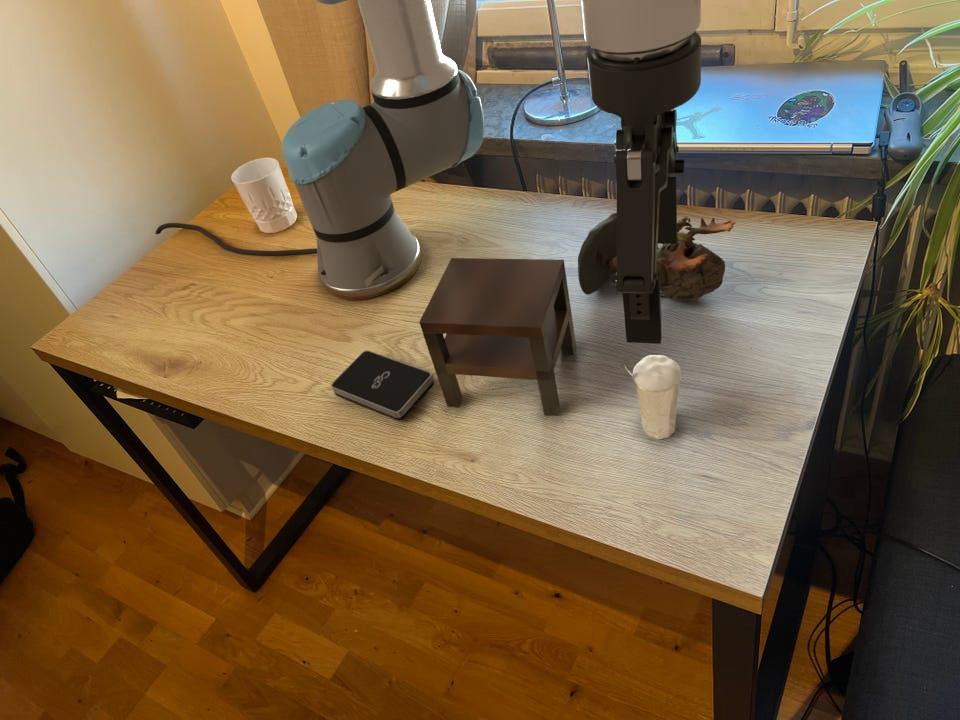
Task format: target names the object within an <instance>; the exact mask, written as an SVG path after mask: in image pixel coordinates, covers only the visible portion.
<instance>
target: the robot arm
mask: <svg viewBox="0 0 960 720" xmlns="http://www.w3.org/2000/svg"><path fill="white" fill-rule="evenodd" d="M315 1H317V2H318V3H321V4H322V5H336V4H340V3H344V2H346V1H348V0H315ZM356 1H357V4H358V8H359V11H360V15H361V18H362V22H363V25H364V30H365V33H366V37H367V38H368V43H369V46H370V50H371V53H372V57H373V61H374V64H375V67H376V72H375V73H374V75H373V77H372V79H371V81H370V83H369V87H370V92H371V95H372V100H373V102H372V103H371V104H368V105H365V106H363V107H362V105H361V104H360V103H359V102H357V101H355V100H352V99H339V100H337V101H336V102H333V101H330V102H327V103H324V104H322V105H320V106H317V107H315V108H313V109H311V110H309V111H308V112H306V113H304V114H302V115H301V116H300V117H299V118H298V119H297V120H296V121H294V122H293V123H292V125H290V127H289V128H288V130H287V131H286V133H285V134H284V136H283V139H282V142H281V153H282V157H283V159H284V162H285V165H286V168H287V171H288V177H289V178H290V180H291V182H292V183H293V184H294V186H295V189H296V191H297V193H298V196H299V198H300V200H301V202H302V205H303V208H304V211H305V214H306V215H307V218H308V220H309V223H310V226H311V227H312V230H313V232H314V234H315V237H316V247H314V248H302V249H284V250H283V249H281V250H257V249H245V248H244V249H243V248H238V247H234V246H231V245H228V244H226V243H225V242H223V241H222V240H221V239H220V238H218V237H217V236H216V235H214V234H213V233H211V232H209V231H208V230H206V229H205V228H204V227H201V226H199V225H196V224H189V223H180V222H167V223H163V224H161V225H159V226H157V228H156V230H155V232H154V234H155V235H160V234H161V233H162V231H164V230H165V229H186V230H193V231H197V232H199V233H201V234H202V235H204V236H205V237H207V238H209V239H210V240H212V241H213V242H214V243H216V244H217V245H218V247H220V248H221V249H224V250H226V251H228V252H229V253H230V252H231V253H234V254H238V255H245V256H258V257H259V256H260V257H279V256H280V257H281V256H282V257H283V256H284V257H285V256H302V255H317V274H318V277H319V279H320V281H321V283H322V285H323V288H324V289H325V290H326V292H327V293H329V294H330V295H331V296H333V297H336V298H338V299H343V300H351V301H352V300H353V301H354V300H365V299H366V300H367V299H371V298H376V297H378V296H382V295H384V294H387V293H389V292H391V291H394V290H396V289H397V288H399V287H401V286H402V285H403V284H405V283H407V282H408V280H410V279H411V278H412V277H413V276H414V275H415V274H416V272H417V271H418V269H419V267H420V265H421V263H422V258H423V256H422V255H423V254H422V251H421V248H420V247H421V246H420V244H419V241H418V239H417V237H416V236H415V235H414V234H413V232H412V231H410V228H408V226H407V225H406V223H405V222H404V220H403V219H402V217H401V216H400V215H399V213H397V211H396V209H395V207H394V204H393V200H392V197H391V195H392V194H394V193H396V192H398V191H401V190H404V189H405V188H408V187H410V186H412V185H415V184H416V183H419V182H421V181H423V180H426V179H428V178H430V177H432V176H434V175H437V174H438V173H441V172H444V171H446V170H448V169H449V170H451V169H453V168H455V167H458V165H460V163H462V162H464V161H466V160H468V159H470V158H472V157H474V156H475V155H476V154H477V152H478V151H479V150H480V148H481V146H482V144H483V141H484V136H485V117H484V116H485V115H484V110H483V106H482V102H481V98H480V97H479V96H477V95H478V93H477V88H476V85H475V84H474V82H473V80H472V79H471V77H470V76H469V75H468V73H466V72H464V71H463V70H461V69H458V66H457V64H456V62H455V61H454V60H453V59H451V58H450V57H448V56H446V55H444V54H443V52H442V48H441V44H440V43H441V42H440V39H439V34H438V29H437V25H436V20H435V16H434V11H433V6H432V2H431V0H356ZM580 2H581V13H582V23H583V35H584V36H583V37H584V41H585V44H587V45H588V46H589V47H590V49H588V51H587V55H586V57H587V58H586V59H587V67H588V78H589V89H590V97H591V100H592V102H593V103H594V105H595V107H597V108H598V109H599V110H601V111H603V112H605V113H607V114H612V115H614V116H617V117H619V118H620V128H617V129H616V133H615V150H616V151H615V155H614V156H613V163H614V164H615V178H616V213H617V264H616V273H615V274H616V275H613V276H610V279H609V281H610V282H609V283H610V285H614V288H615V291H616V293H618V294H622V303H623V305H622V306H623V316H624V327H625V341H626V343H632V344H633V343H634V344H655V345H656V344H657V345H661V344H662V337H663V335H662V308H661V307H662V306H661V303H662V302H661V297H660V295H661V294H660V293H661V291H660V276H659V273H656V266H657V246H659V245H658V244H660V245H663V244H676V243H677V222H678V202H677V201H678V200H677V199H678V197H677V196H678V195H677V193H678V192H677V176H671V175H677V174H678V175H679V174H684V173H685V159H676V157H677V155H678V153H679V147H680V146H678V138H677V121H678V119H677V118H678V112H677V108H679V107H681V106H683V105H684V104H687V102H689V101H690V100H691V99H693V97H695V95H696V94H697V93H698V91H699V89H700V87H701V85H702V84H701V83H702V38H701V35H700V34H699V32H697V30H698V29H699V27H700V25H701V19H702V16H701V14H702V11H701V10H702V9H701V6H702V0H581V1H580Z"/></svg>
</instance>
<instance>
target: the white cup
mask: <svg viewBox="0 0 960 720" xmlns="http://www.w3.org/2000/svg"><path fill="white" fill-rule="evenodd" d="M230 180H231V181H232V183H233V185H234V187H235V189H236V191H237V193H238V194H239V196H240V198H241V200H242V202H243V204H244V206H245V207H246V209H247V210H248V212H249V214H250V215H251V217H252V218H253V220H254V221H255V223H256V225H257V227H258V229H259V231H260V232H262V233H265V234H275V233H279V232H282V231H285V230H286V229H288V228H290V227H292V226H293V224H295V223H296V221H297V218H298V214H297V211H296V208H295V206H294V203H293V197H292V196H291V192H290V189H289V187H288V185H287V183H286V178H285V176H284V174H283V171H282V169H281V166H280V163H279V161H278V159H276V158H273V157H261V158H256V159H253V160H250V161H248V162H245V163H244V164H241V165H240V166H239V167H237V168H236V169H235V170H234V171H233V172H232V173H231V176H230Z"/></svg>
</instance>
